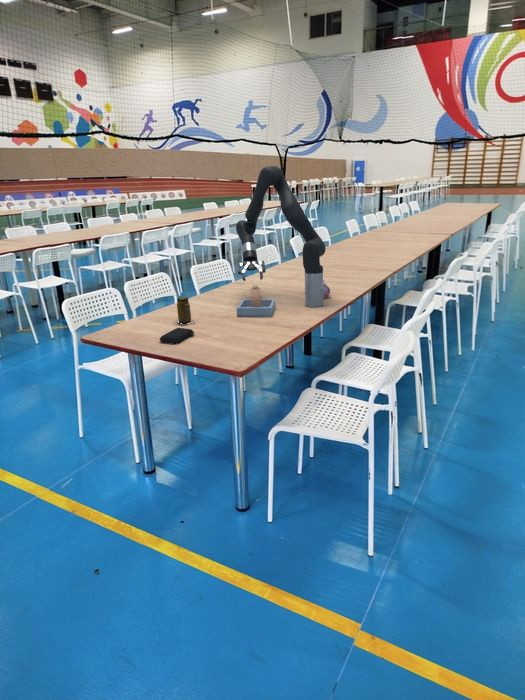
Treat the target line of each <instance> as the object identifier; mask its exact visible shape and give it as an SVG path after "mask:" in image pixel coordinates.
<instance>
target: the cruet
mask: <svg viewBox="0 0 525 700" xmlns="http://www.w3.org/2000/svg"><path fill="white" fill-rule="evenodd" d="M249 290H250V291H249V293H250V294H249V295H250V299H251V307H262V304H261V299H262V291H261V287H259V285H257V284H253V285H252V286H251V288H250V289H249Z"/></svg>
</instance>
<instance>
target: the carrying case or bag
mask: <svg viewBox="0 0 525 700" xmlns="http://www.w3.org/2000/svg"><path fill="white" fill-rule="evenodd" d="M194 334H195V331H193V329H191V328H185V327H184V328H183V327H176V328H174V329H172V330H170V331H168V332H166V333H165V334H163V335H161V336H160V337H159V341H160V342H161V343H163V342H167V343H166V344H170V343H173V344H172V345H176V343H178V344H179V343H181V342H183V341H185V340H186V338H187V339H189V338H190V337H192V336H194ZM184 339H185V340H184Z"/></svg>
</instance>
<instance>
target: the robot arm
mask: <svg viewBox="0 0 525 700" xmlns="http://www.w3.org/2000/svg"><path fill="white" fill-rule="evenodd" d="M270 187H273V188H274V190H275V191H276V193H277V194H278V197H279V202H280V208H281V212H282V214H283V216H284V217H285V219H286V221H287V223H288V224H289V225H290V226H291V227H292V228H293V229H294V230H295V231H296V232H298V234H300V235H301V237H302V238H303V239H304V242H305V243H304V244H303V245H302V266H303V268H304V306H305V307H309V308H318V307H323V306H324V299H323V280H324V267H323V266H322V264H321V259H320V257H322V256H324V255H325V253H326V248H327V247H326V245H325V242H324V241H323V240H322V238H321V237H320V235H319V233H317V232H316V230H315V228H314V227H313V225H312V223H311V222H310V220H309V218H308V217H307V215H306V213H305V211H304V210H303V208H302V206H301V205H300V203H299V201H298V200H297V198H296V196H295V194H294V192H293V191H292V189H291V188H290V186H289V184H288V181H287V179H286V177H285V175H284V173H283V171H282V169H281V168H280V167H279V166H277V165H270V166H269V165H268V166H265V167H263V168H262V169H261V170H260V171H259V174H258V176H257V181H256V185H255V187H254V188H255V189H254V192H253V195H252V197H251V198H252V199H251V200H250V203H249V205H248V207H247V209H246V212H245V214H244V216H245V219H247V220H248V221H247V220H242V219H240V220H239V221H237V223H236V225H235V229H236V230H235V231H236V233H237V236H238V238H239V240H240V242H241V255H242V262H237V275H241V279H242V281H244V282H246V273H247V272H250V271H255V272H257V273H258V274H259V279H260V281H262V280H263V279H264V273H266V271H267V270H266V264H265V260H261V261H259V260H258V253H257V248H256V244H255V243H256V242H255V238H254V234H256V231H257V230H256V229H257V223H258V219H259V217H260V215H261V213H262V210H263V208H264V201H265V197H266V193H267V191H268V189H269V188H270ZM242 267H243V269H242V270H241V268H242Z"/></svg>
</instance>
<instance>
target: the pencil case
mask: <svg viewBox="0 0 525 700" xmlns="http://www.w3.org/2000/svg"><path fill="white" fill-rule="evenodd" d="M330 293H331V289H330V288H329V286H328V284H327V283H326V281H325V280H324V279H323V300H324V299H326V298H328V297H329V296H330Z"/></svg>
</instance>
